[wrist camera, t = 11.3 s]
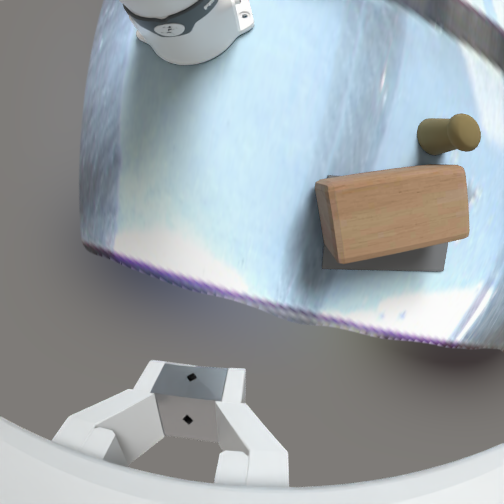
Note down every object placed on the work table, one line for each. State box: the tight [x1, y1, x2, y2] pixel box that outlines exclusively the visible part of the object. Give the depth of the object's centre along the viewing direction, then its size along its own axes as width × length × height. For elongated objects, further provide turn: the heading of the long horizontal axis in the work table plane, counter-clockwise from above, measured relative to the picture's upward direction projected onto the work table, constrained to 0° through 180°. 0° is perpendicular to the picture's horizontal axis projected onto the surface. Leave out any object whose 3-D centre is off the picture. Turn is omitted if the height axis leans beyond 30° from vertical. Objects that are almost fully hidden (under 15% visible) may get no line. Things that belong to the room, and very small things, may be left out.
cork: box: [417, 113, 481, 155], centre depth 34 cm, size 6×6×11 cm
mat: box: [322, 175, 448, 271], centre depth 44 cm, size 14×22×1 cm, turn 89°
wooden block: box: [315, 164, 469, 264], centre depth 38 cm, size 10×10×20 cm
